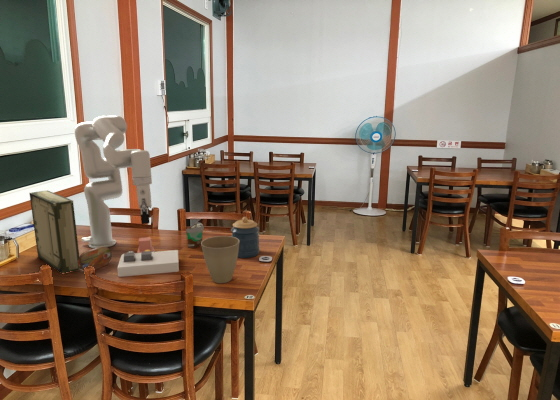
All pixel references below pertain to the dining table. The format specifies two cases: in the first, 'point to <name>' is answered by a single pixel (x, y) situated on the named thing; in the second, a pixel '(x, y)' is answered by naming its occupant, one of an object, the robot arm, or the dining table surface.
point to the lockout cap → (145, 245)
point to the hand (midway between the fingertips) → (145, 220)
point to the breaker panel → (150, 264)
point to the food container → (194, 235)
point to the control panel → (55, 230)
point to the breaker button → (129, 257)
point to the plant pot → (220, 257)
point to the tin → (95, 258)
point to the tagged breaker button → (146, 255)
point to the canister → (246, 237)
